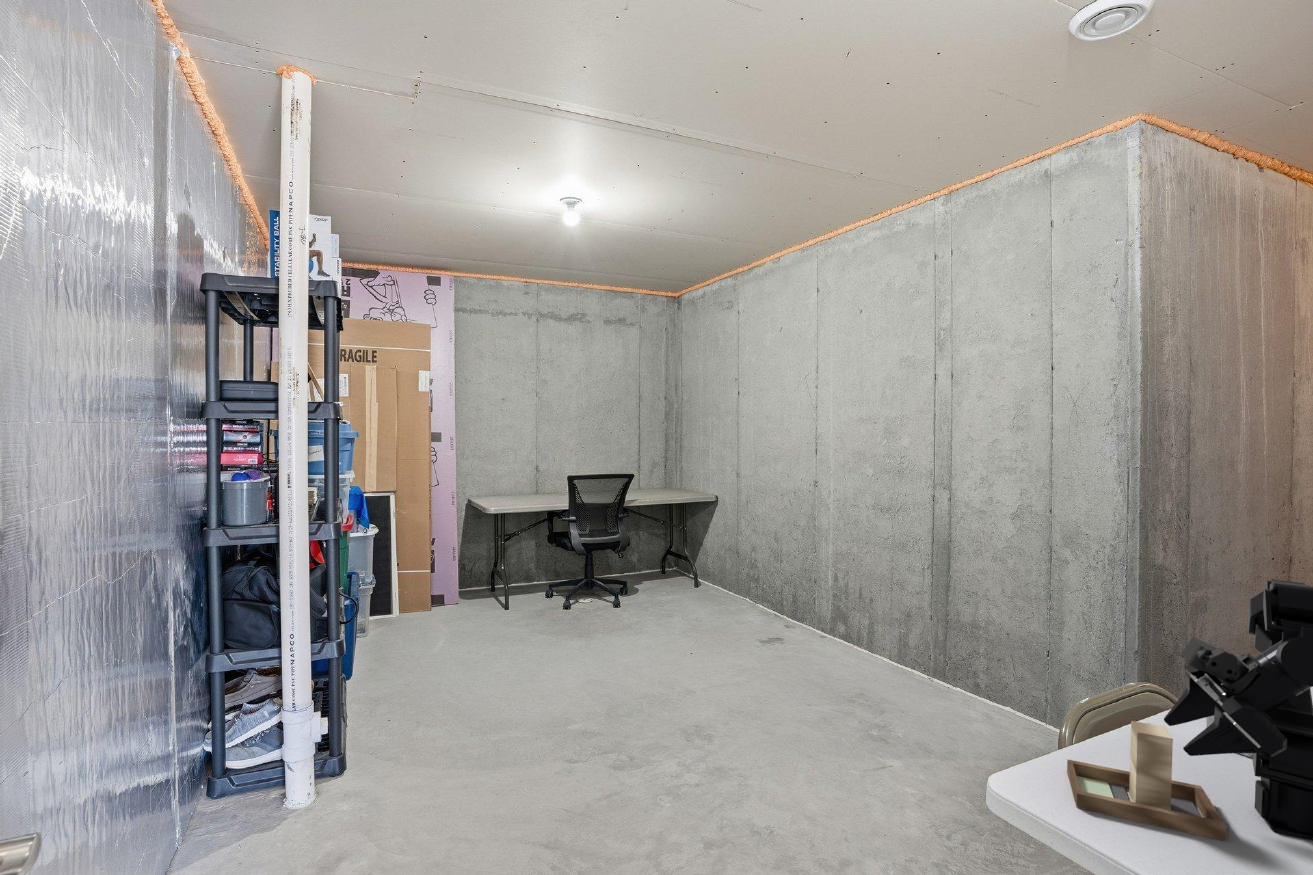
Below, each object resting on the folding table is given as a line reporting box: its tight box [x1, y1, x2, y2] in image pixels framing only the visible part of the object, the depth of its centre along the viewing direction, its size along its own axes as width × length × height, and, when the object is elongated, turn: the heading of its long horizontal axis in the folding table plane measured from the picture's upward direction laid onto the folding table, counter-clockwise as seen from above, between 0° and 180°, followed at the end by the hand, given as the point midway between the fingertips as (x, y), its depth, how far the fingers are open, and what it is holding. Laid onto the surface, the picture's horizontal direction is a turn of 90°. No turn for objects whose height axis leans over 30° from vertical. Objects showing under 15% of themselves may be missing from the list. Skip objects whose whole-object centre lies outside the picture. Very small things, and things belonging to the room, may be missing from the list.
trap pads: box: [1109, 783, 1202, 817], centre depth 93 cm, size 10×8×1 cm
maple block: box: [1128, 720, 1174, 811], centre depth 93 cm, size 4×4×11 cm
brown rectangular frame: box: [1066, 759, 1227, 842], centre depth 94 cm, size 16×10×2 cm, turn 64°
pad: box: [1077, 776, 1115, 798], centre depth 96 cm, size 4×8×1 cm, turn 154°
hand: (1175, 736), depth 92 cm, fingers open, 9 cm apart
